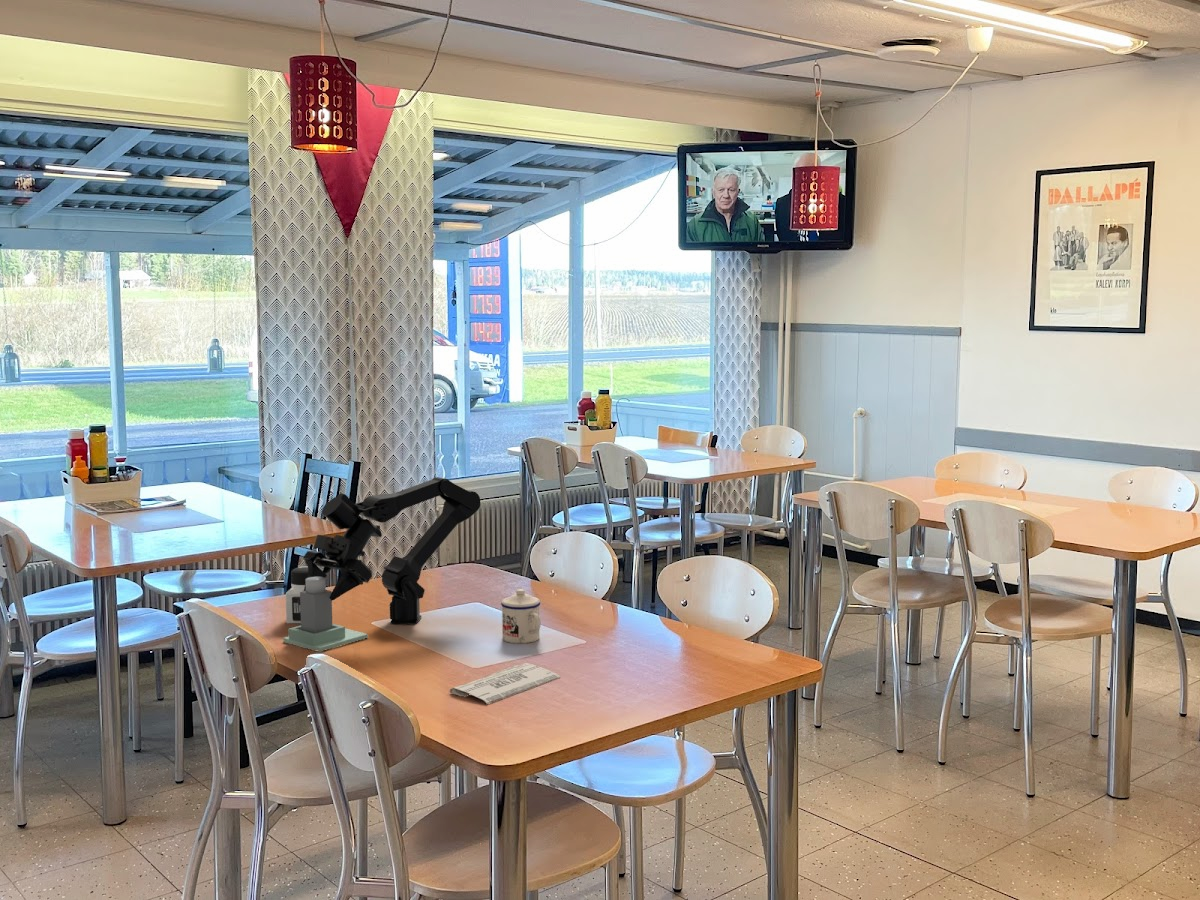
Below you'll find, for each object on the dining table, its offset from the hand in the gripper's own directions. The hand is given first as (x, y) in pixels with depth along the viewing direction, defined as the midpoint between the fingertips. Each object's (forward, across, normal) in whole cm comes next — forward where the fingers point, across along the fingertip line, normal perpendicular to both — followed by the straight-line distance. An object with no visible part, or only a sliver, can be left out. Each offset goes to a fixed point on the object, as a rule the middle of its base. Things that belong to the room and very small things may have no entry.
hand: (317, 596), depth 266 cm
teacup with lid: (-13, +36, +29) cm, 49 cm away
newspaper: (+6, +54, +10) cm, 55 cm away
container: (0, -18, +15) cm, 24 cm away
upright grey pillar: (+7, 0, +6) cm, 10 cm away
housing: (+6, 0, +9) cm, 11 cm away
